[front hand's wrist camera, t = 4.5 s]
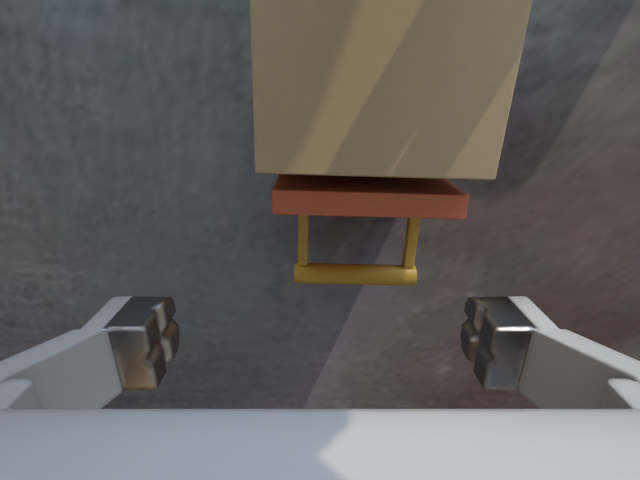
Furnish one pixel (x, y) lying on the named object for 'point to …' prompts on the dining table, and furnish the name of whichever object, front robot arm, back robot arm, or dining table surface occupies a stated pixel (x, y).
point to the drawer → (364, 201)
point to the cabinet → (384, 86)
